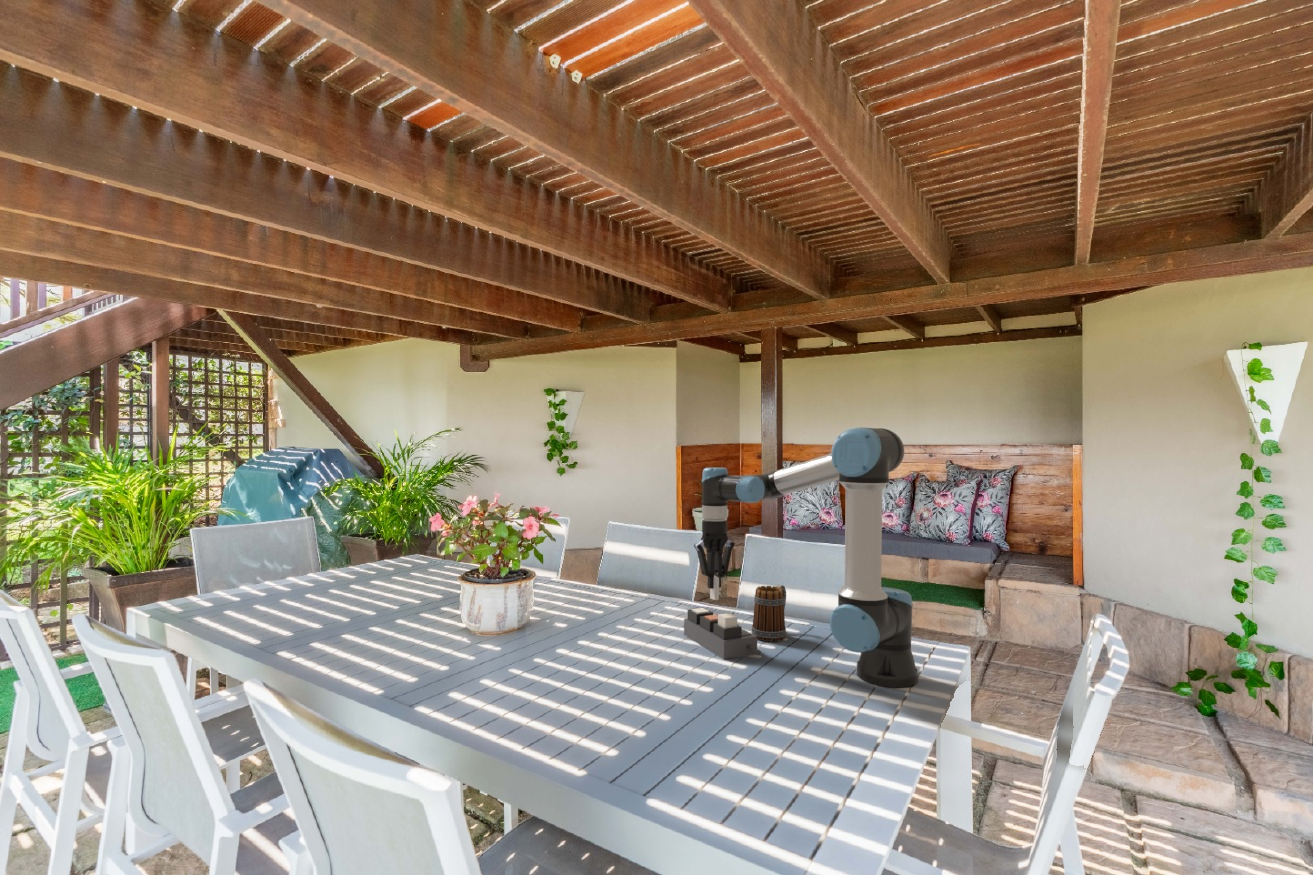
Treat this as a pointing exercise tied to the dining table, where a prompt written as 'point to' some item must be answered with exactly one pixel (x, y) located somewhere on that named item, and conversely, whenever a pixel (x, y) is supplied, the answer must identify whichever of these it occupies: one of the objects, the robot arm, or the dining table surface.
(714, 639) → the push button switch box
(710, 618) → the button
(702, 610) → the button
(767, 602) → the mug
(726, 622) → the button
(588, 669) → the dining table surface
